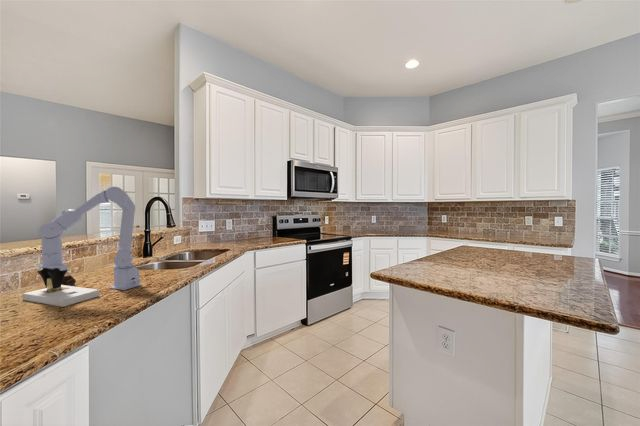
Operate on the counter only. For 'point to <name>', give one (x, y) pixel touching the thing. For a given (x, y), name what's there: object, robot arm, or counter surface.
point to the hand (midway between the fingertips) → (53, 287)
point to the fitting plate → (61, 295)
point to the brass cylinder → (50, 287)
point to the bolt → (68, 280)
